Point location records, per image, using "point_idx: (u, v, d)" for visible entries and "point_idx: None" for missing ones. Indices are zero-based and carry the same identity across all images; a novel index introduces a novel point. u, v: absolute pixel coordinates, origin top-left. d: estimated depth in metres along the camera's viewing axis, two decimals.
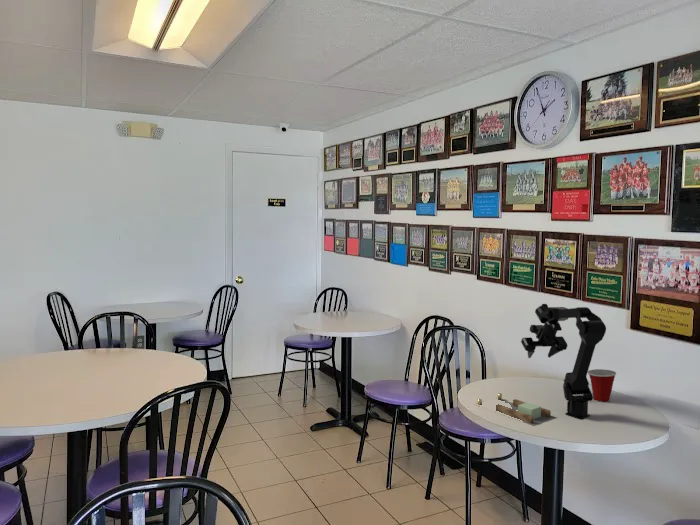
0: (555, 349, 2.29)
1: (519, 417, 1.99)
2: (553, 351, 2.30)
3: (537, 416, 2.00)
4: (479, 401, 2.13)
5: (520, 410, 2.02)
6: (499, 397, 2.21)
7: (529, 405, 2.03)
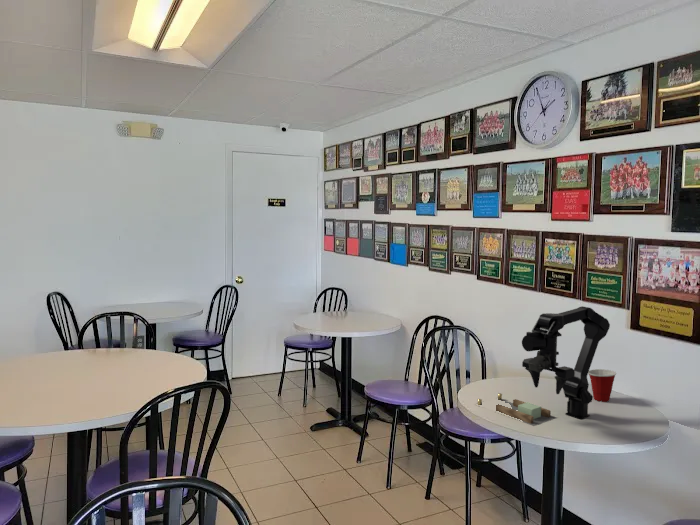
0: None
1: (519, 417, 1.99)
2: (538, 374, 2.00)
3: (537, 416, 2.00)
4: (479, 401, 2.13)
5: (520, 410, 2.02)
6: (499, 397, 2.21)
7: (529, 405, 2.03)
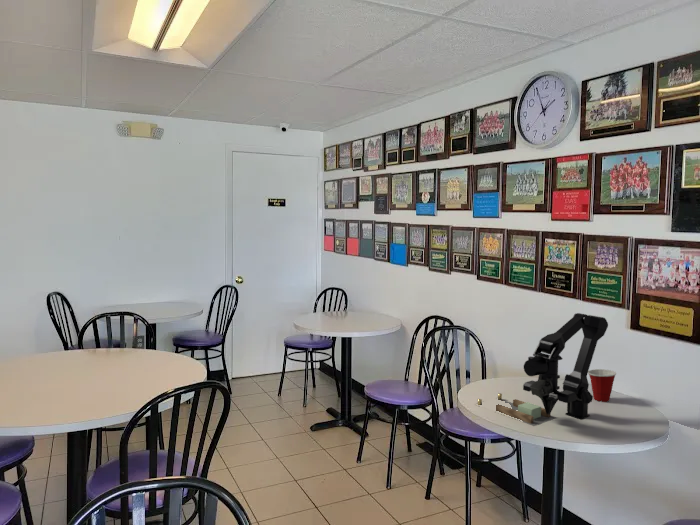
0: None
1: (519, 417, 1.99)
2: None
3: (537, 416, 2.00)
4: (479, 401, 2.13)
5: (520, 410, 2.02)
6: (499, 397, 2.21)
7: (529, 405, 2.03)
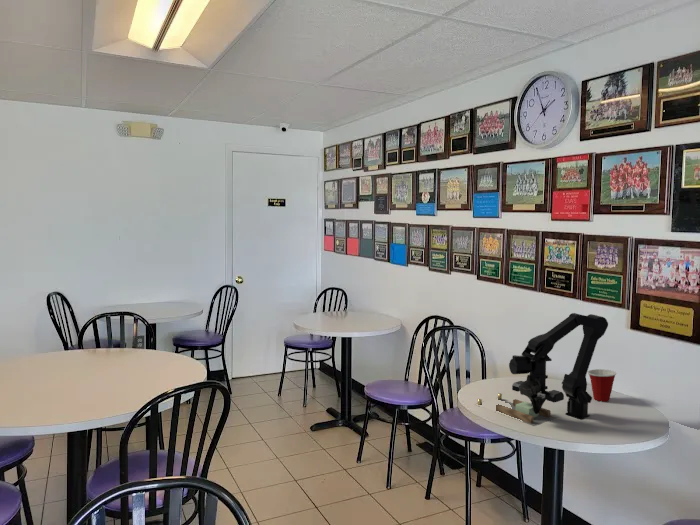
0: None
1: (519, 417, 1.99)
2: None
3: (534, 415, 2.01)
4: (479, 401, 2.13)
5: (518, 409, 2.03)
6: (499, 397, 2.21)
7: (526, 404, 2.04)
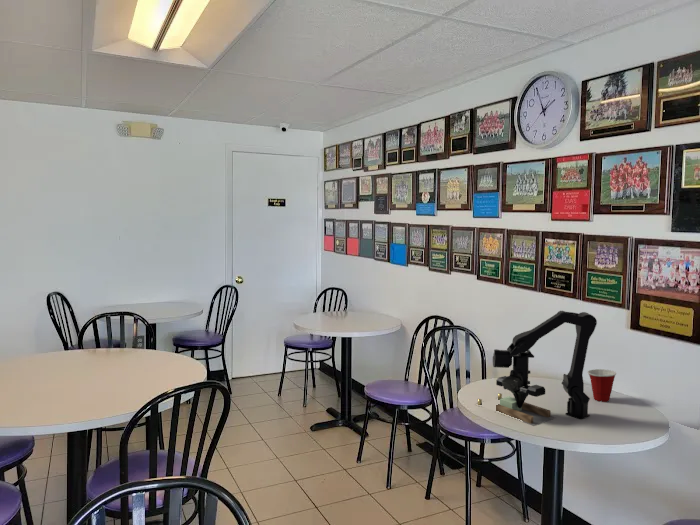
0: None
1: (519, 417, 1.99)
2: None
3: (518, 409, 2.08)
4: (479, 401, 2.13)
5: (501, 404, 2.09)
6: (499, 397, 2.21)
7: (510, 398, 2.10)
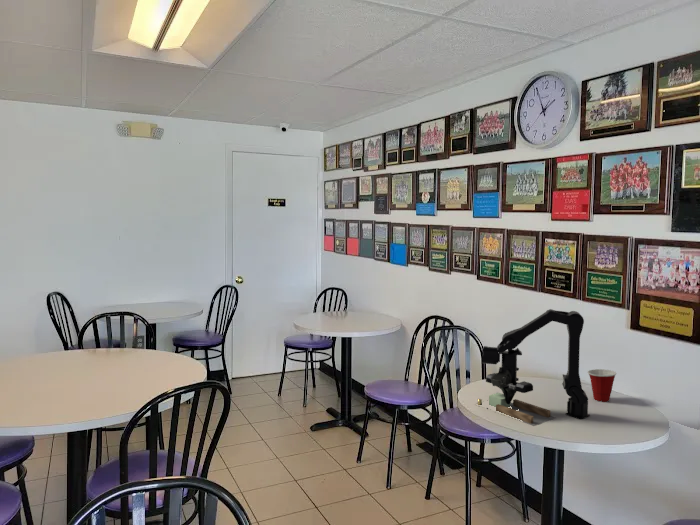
0: None
1: (519, 417, 1.99)
2: None
3: (507, 405, 2.12)
4: (479, 401, 2.13)
5: (491, 400, 2.13)
6: None
7: (499, 395, 2.14)
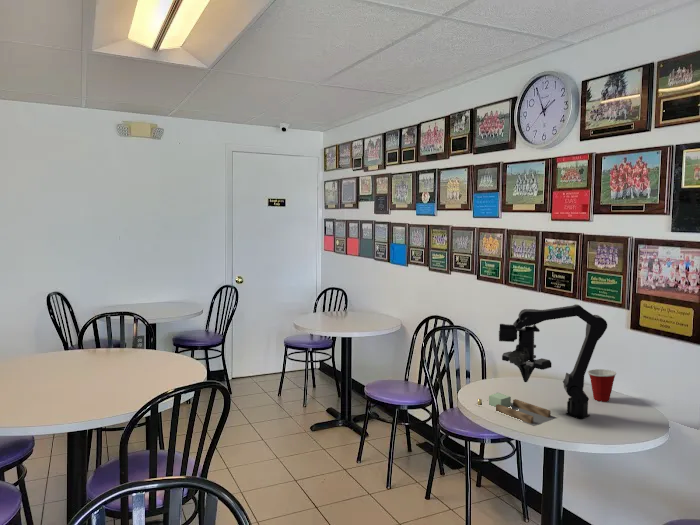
0: None
1: (519, 417, 1.99)
2: None
3: (507, 405, 2.12)
4: (479, 401, 2.13)
5: (491, 400, 2.13)
6: None
7: (499, 395, 2.14)
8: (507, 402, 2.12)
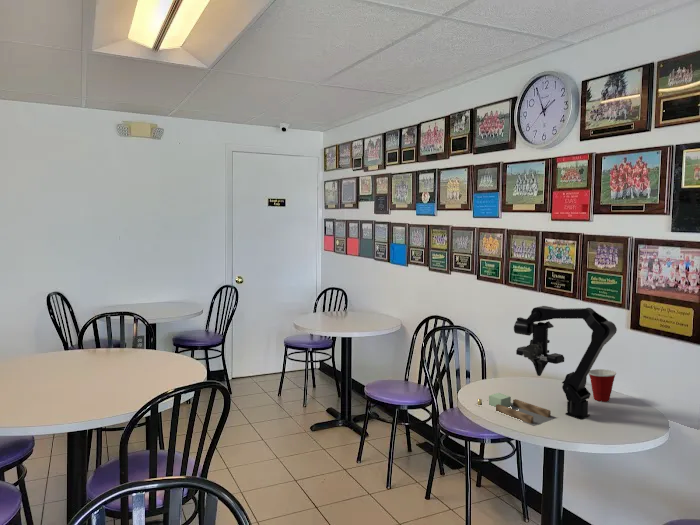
0: None
1: (519, 417, 1.99)
2: None
3: (507, 405, 2.12)
4: (479, 401, 2.13)
5: (491, 400, 2.13)
6: None
7: (499, 395, 2.14)
8: (507, 402, 2.12)
